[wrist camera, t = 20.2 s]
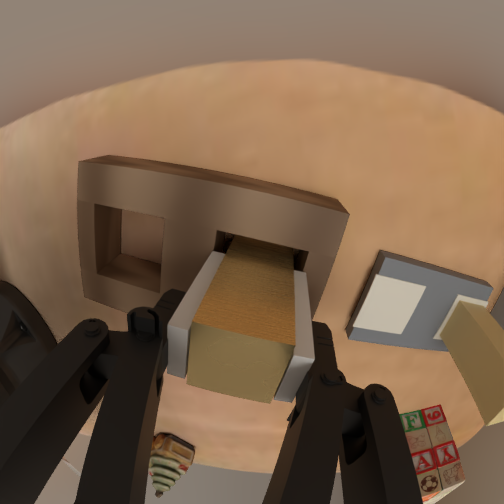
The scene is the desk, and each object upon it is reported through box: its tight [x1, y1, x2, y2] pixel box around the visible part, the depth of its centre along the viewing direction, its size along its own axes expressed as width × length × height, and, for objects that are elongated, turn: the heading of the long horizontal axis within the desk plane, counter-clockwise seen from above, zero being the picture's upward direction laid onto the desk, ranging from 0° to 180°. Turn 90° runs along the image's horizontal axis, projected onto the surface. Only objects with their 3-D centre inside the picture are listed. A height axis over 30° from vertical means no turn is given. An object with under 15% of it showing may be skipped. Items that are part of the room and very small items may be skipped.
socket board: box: [77, 155, 350, 321], centre depth 17 cm, size 16×10×4 cm, turn 78°
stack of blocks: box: [399, 405, 465, 504], centre depth 23 cm, size 21×6×12 cm, turn 6°
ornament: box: [148, 434, 195, 498], centre depth 28 cm, size 8×6×10 cm
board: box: [346, 250, 504, 426], centre depth 14 cm, size 12×7×11 cm, turn 79°
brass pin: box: [187, 234, 296, 404], centre depth 14 cm, size 4×4×10 cm
